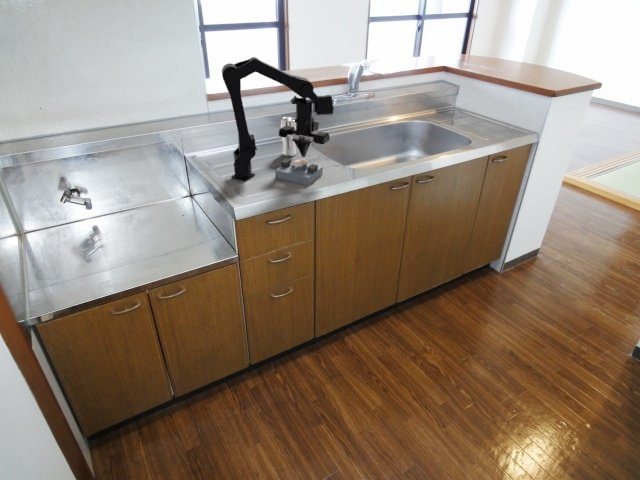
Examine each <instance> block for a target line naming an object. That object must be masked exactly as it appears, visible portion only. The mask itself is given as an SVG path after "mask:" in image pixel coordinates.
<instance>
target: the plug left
mask: <svg viewBox="0 0 640 480" xmlns="http://www.w3.org/2000/svg"><path fill="white" fill-rule="evenodd" d="M291 162H292V159H289V158H285V159H283V160H281V161H280V167H284V168H287V167H289V166H290V163H291Z"/></svg>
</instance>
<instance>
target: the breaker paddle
mask: <svg viewBox="0 0 640 480" xmlns="http://www.w3.org/2000/svg"><path fill="white" fill-rule="evenodd" d="M293 161H294V162H291V163H290V165H292V166H297V167H299V166H302V165H303V164H305V163H307V164H309V161H308V160H307V159H303V158H302V159H300V158H299V159H297V160H293Z"/></svg>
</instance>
